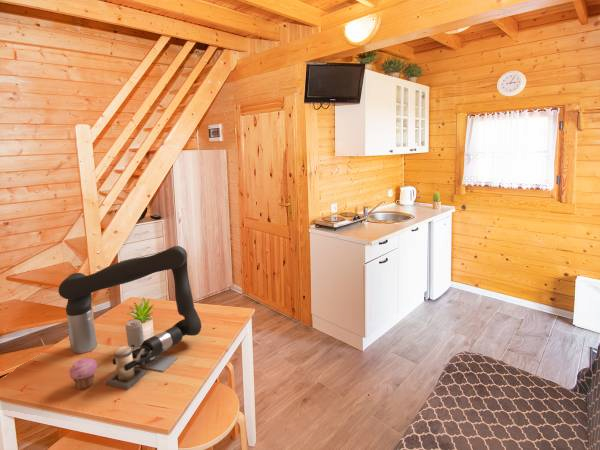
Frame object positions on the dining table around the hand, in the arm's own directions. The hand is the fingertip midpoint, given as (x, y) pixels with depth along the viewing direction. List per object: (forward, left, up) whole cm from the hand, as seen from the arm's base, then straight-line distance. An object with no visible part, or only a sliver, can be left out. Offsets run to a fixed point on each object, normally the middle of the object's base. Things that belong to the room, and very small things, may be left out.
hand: (119, 365), depth 134 cm
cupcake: (-11, -5, -7) cm, 14 cm away
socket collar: (+1, +2, -7) cm, 7 cm away
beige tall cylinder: (+1, +2, -7) cm, 7 cm away
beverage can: (-11, +21, -7) cm, 25 cm away
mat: (+7, +14, -7) cm, 17 cm away
